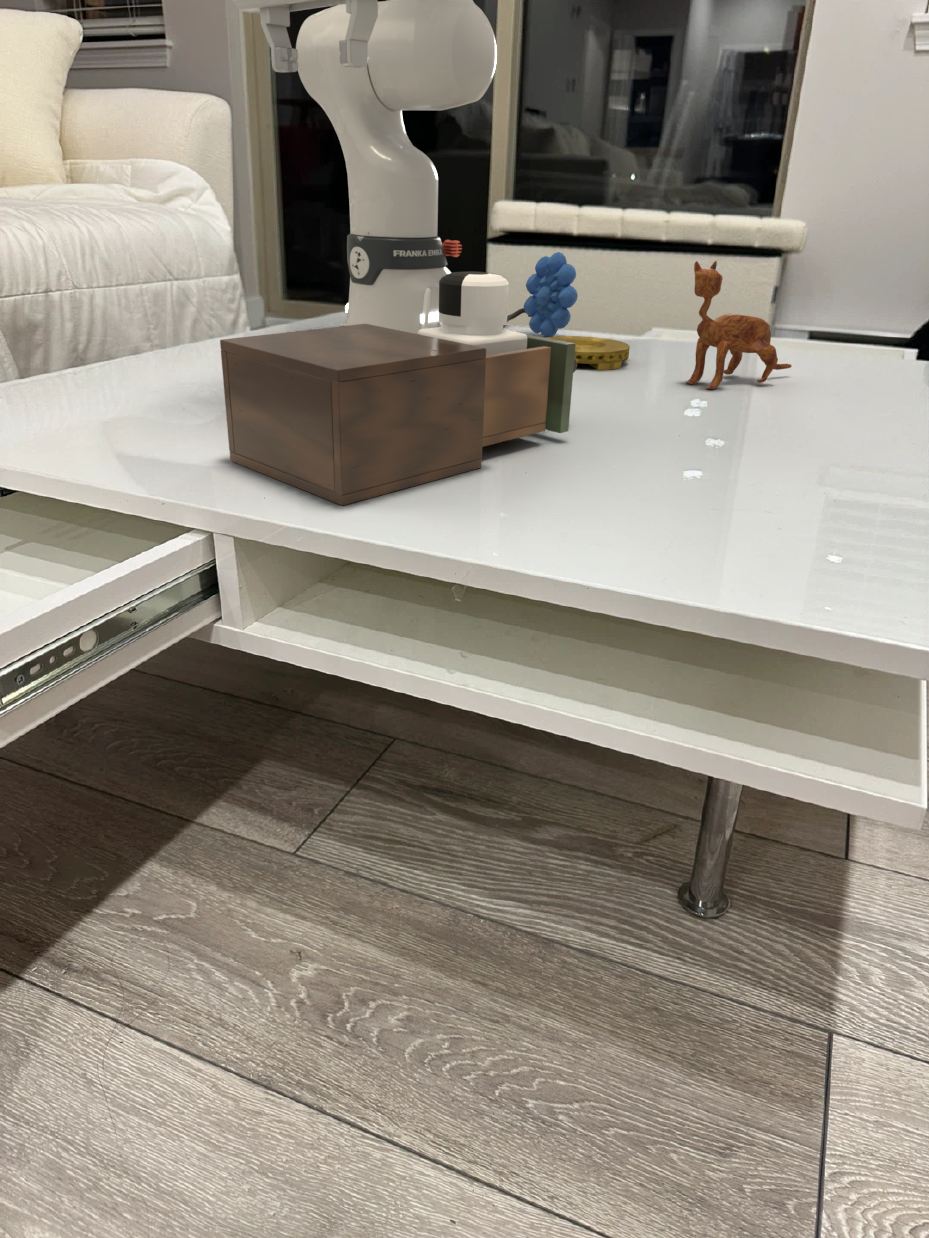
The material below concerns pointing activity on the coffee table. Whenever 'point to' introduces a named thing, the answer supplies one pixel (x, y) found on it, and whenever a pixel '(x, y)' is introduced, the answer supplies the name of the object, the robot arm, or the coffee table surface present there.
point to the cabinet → (354, 408)
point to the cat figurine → (729, 333)
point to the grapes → (550, 295)
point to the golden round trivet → (598, 351)
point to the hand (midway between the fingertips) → (318, 70)
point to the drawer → (528, 390)
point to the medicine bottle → (475, 312)
